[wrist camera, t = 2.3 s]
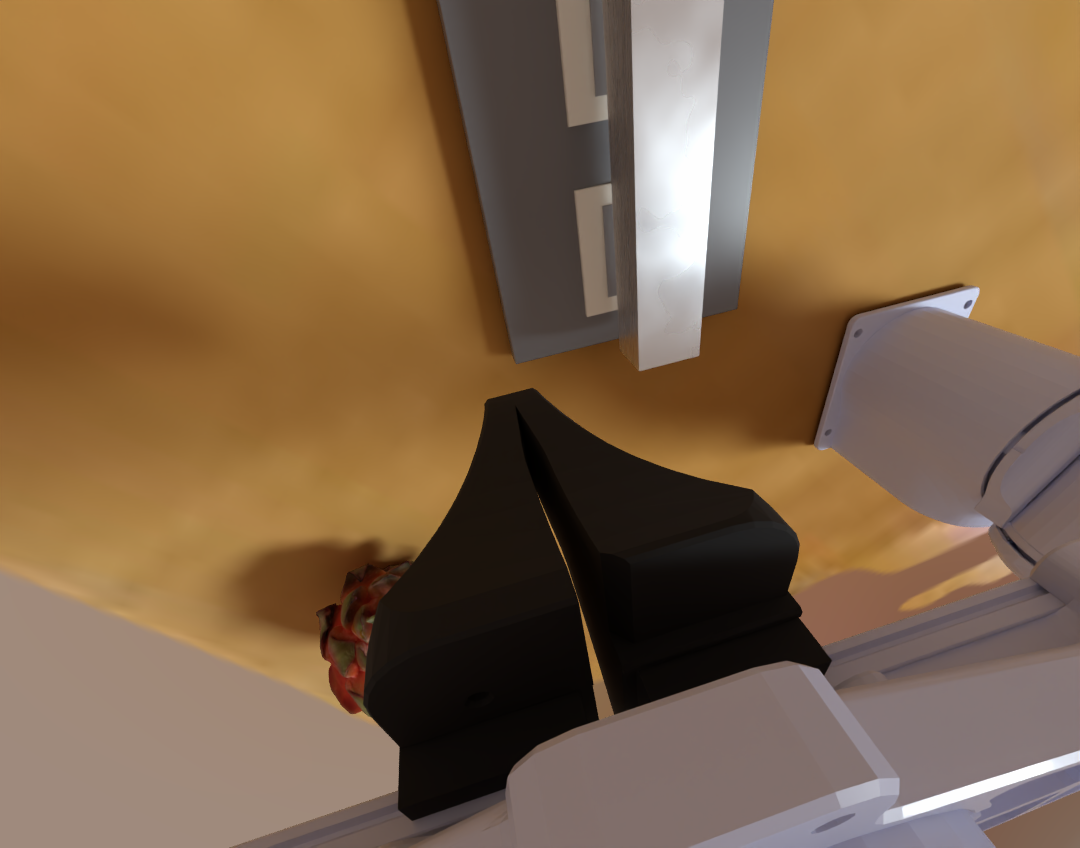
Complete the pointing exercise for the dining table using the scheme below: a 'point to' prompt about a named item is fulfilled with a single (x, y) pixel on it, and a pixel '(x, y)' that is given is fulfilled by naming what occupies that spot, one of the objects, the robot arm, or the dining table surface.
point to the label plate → (582, 159)
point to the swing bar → (661, 168)
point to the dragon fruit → (354, 630)
